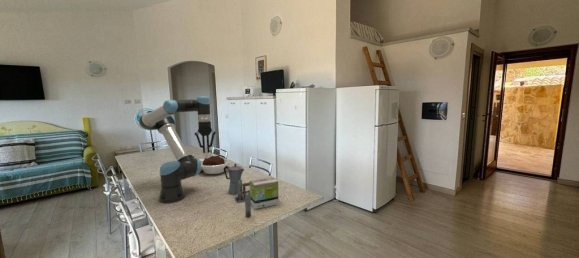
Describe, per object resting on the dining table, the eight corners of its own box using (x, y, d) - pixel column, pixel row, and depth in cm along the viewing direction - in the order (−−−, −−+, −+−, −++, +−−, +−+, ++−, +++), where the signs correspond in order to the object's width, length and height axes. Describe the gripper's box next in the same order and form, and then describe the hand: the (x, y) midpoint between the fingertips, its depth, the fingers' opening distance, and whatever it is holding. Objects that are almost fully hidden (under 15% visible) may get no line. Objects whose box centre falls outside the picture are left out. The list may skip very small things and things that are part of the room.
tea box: (255, 210, 142) (254, 185, 140) (249, 203, 151) (248, 180, 149) (279, 204, 149) (278, 180, 147) (272, 198, 158) (271, 176, 156)
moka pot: (242, 195, 163) (241, 166, 160) (221, 194, 166) (219, 165, 163) (247, 190, 172) (246, 162, 170) (227, 189, 175) (226, 161, 173)
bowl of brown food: (210, 167, 229) (209, 151, 227) (234, 169, 223) (234, 153, 221) (193, 176, 205) (192, 158, 203) (220, 178, 199) (219, 160, 197)
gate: (269, 192, 165) (269, 179, 163) (243, 197, 156) (243, 184, 155) (268, 191, 166) (268, 178, 165) (242, 196, 157) (242, 183, 156)
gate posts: (243, 218, 133) (242, 195, 131) (234, 199, 157) (233, 179, 156) (254, 216, 135) (253, 193, 133) (244, 197, 160) (243, 178, 158)
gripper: (193, 122, 149) (195, 160, 152) (215, 121, 153) (217, 158, 157) (193, 121, 156) (195, 157, 159) (214, 120, 160) (216, 155, 163)
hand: (206, 157), depth 158 cm, fingers closed
